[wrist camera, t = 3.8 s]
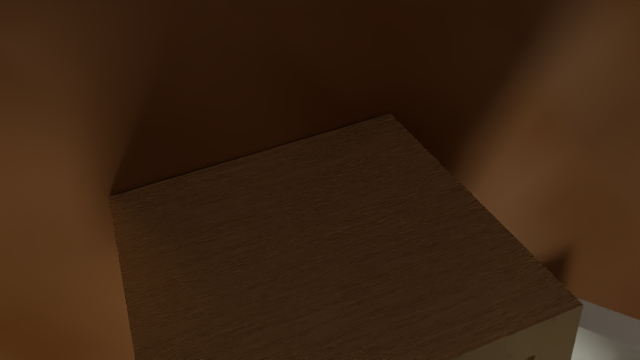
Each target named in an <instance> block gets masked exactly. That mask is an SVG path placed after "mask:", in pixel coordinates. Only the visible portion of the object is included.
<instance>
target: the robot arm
mask: <svg viewBox="0 0 640 360" xmlns="http://www.w3.org/2000/svg"><path fill="white" fill-rule="evenodd" d="M577 299H578V300H579V301H580V302H581V303H582V304H583V309H582V314H581V318H580V322H579V327H578V331H577V335H576V340H575V344H574V349H573V353H572V357H571V360H640V320H637V319H634V318H632V317H629V316H626V315H623V314H620V313H618V312H615V311H612V310H609V309H607V308H604V307H601V306H598V305H595V304H593V303H590V302H587V301H584V300H582V299H579V298H577Z"/></svg>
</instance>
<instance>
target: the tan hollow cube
mask: <svg viewBox="0 0 640 360" xmlns="http://www.w3.org/2000/svg"><path fill="white" fill-rule="evenodd" d="M109 200H110V206H111V212H112V218H113V225H114V231H115V237H116V243H117V249H118V256H119V262H120V268H121V274H122V281H123V287H124V293H125V299H126V306H127V312H128V318H129V324H130V331H131V337H132V343H133V349H134V355H135V360H571V357H572V353H573V349H574V344H575V340H576V335H577V331H578V327H579V322H580V318H581V314H582V309H583V304H582V303H581V302H580V301H579V300H578V299H577V298H576V297H575V296H574V295H573V294H572V293H571V292H570V291H569V290H568V289H567V288H566V287H565V286H564V285H563V284H562V283H561V282H560V281H559V280H558V279H557V278H556V277H555V276H554V275H553V274H552V273H551V272H550V271H549V270H548V269H547V268H546V267H545V266H544V265H543V264H542V263H541V262H540V261H539V260H538V259H537V258H536V257H535V256H534V255H533V254H532V253H530V252H529V251H528V250H527V249H526V248H525V247H524V246H523V245H522V244H521V243H520V242H519V241H518V240H517V239H516V238H515V237H514V236H513V235H512V234H511V233H510V232H509V231H508V230H507V229H506V228H505V227H504V226H503V225H502V224H501V223H500V222H499V221H498V220H497V219H496V218H495V217H494V216H493V215H492V214H491V213H490V212H489V211H488V210H487V209H486V208H485V207H484V206H483V205H482V204H481V203H480V202H479V201H478V200H477V199H476V198H475V197H474V196H473V195H472V194H471V193H470V192H469V191H468V190H467V189H466V188H465V187H464V186H463V185H462V184H461V183H460V182H459V181H458V180H457V179H456V178H455V177H454V176H453V175H452V174H451V173H450V172H449V171H448V170H447V169H446V168H445V167H444V166H443V165H442V164H441V163H440V162H439V161H438V160H437V159H436V158H435V157H434V156H433V155H432V154H431V153H430V152H429V151H428V150H427V149H426V148H425V147H424V146H423V145H422V144H421V143H420V142H419V141H418V140H417V139H416V138H415V137H414V136H413V135H412V134H411V133H410V132H409V131H408V130H407V129H406V128H405V127H404V126H403V125H402V124H400V123H399V122H398V121H397V120H396V119H395V118H394V117H393V116H392V115H391V114H386V115H383V116H380V117H376V118H373V119H370V120H366V121H363V122H359V123H356V124H353V125H349V126H346V127H343V128H339V129H336V130H332V131H329V132H326V133H322V134H319V135H316V136H312V137H309V138H305V139H302V140H299V141H295V142H292V143H289V144H285V145H282V146H278V147H275V148H272V149H268V150H265V151H262V152H258V153H255V154H251V155H248V156H245V157H241V158H238V159H235V160H231V161H228V162H225V163H221V164H218V165H214V166H211V167H208V168H204V169H201V170H198V171H194V172H191V173H187V174H184V175H181V176H177V177H174V178H171V179H167V180H164V181H160V182H157V183H154V184H150V185H147V186H144V187H140V188H137V189H133V190H130V191H127V192H123V193H120V194H117V195H113V196H110V197H109Z"/></svg>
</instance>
